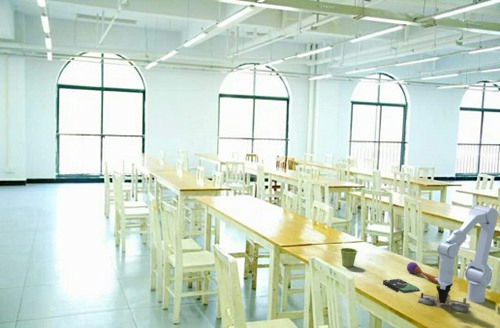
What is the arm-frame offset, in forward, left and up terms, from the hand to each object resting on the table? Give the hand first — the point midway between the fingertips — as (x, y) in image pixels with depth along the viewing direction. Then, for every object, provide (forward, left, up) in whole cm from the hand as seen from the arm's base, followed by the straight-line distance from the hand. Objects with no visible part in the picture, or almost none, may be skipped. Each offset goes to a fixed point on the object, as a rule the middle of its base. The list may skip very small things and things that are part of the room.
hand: (443, 300), depth 203 cm
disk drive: (-14, -20, -4) cm, 25 cm away
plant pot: (-35, -53, -4) cm, 63 cm away
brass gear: (0, 0, 0) cm, 0 cm away
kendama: (-39, -15, -4) cm, 42 cm away
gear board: (-3, 0, -3) cm, 4 cm away
